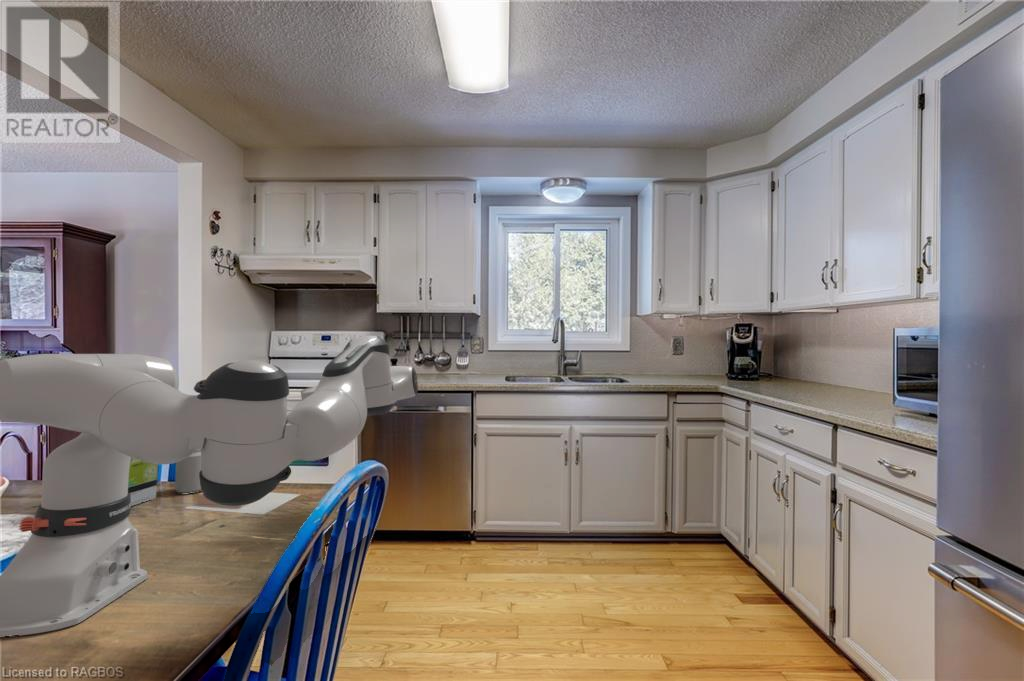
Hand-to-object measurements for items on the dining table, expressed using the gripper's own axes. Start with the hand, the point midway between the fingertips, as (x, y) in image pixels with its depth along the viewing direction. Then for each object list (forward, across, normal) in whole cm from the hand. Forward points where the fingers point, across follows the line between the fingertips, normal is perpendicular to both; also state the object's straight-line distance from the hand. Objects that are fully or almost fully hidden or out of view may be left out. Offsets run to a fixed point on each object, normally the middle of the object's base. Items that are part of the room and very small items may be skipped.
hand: (303, 392), depth 123 cm
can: (+39, +3, -25) cm, 47 cm away
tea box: (+48, -11, -22) cm, 54 cm away
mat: (+19, -3, -27) cm, 33 cm away
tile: (+16, -3, -25) cm, 30 cm away
